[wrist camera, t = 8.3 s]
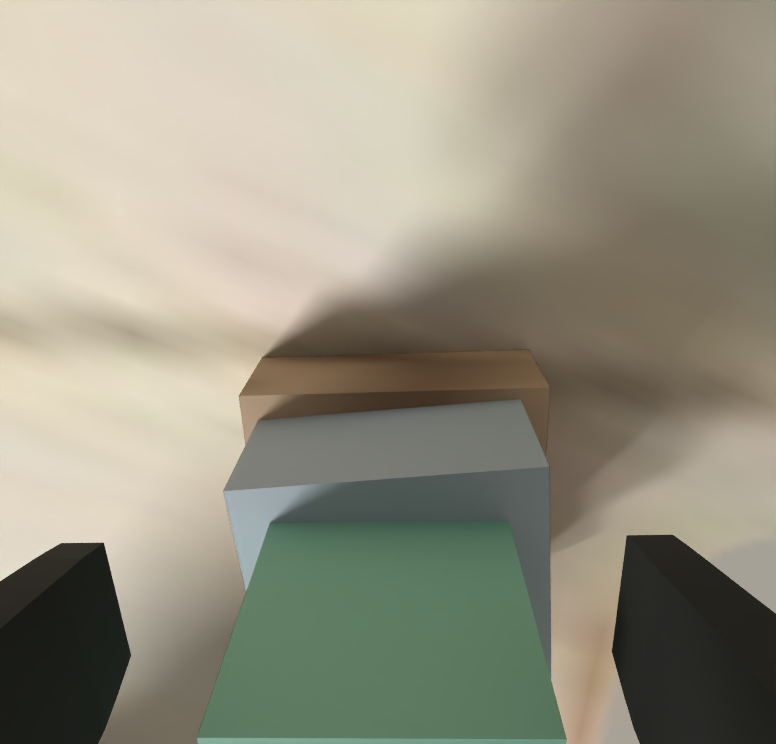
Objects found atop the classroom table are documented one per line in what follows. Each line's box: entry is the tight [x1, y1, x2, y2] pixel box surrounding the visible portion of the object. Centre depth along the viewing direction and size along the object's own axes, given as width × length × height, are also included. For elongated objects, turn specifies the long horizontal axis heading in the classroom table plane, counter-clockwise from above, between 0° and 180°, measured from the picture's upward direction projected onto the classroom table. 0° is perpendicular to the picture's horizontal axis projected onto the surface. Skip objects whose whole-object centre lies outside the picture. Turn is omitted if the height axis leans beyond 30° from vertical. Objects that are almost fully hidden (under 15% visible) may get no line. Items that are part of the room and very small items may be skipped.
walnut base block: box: [239, 350, 550, 457], centre depth 17 cm, size 7×7×3 cm
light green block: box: [197, 521, 567, 744], centre depth 11 cm, size 4×4×4 cm
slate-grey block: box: [223, 399, 551, 679], centre depth 14 cm, size 6×6×3 cm
